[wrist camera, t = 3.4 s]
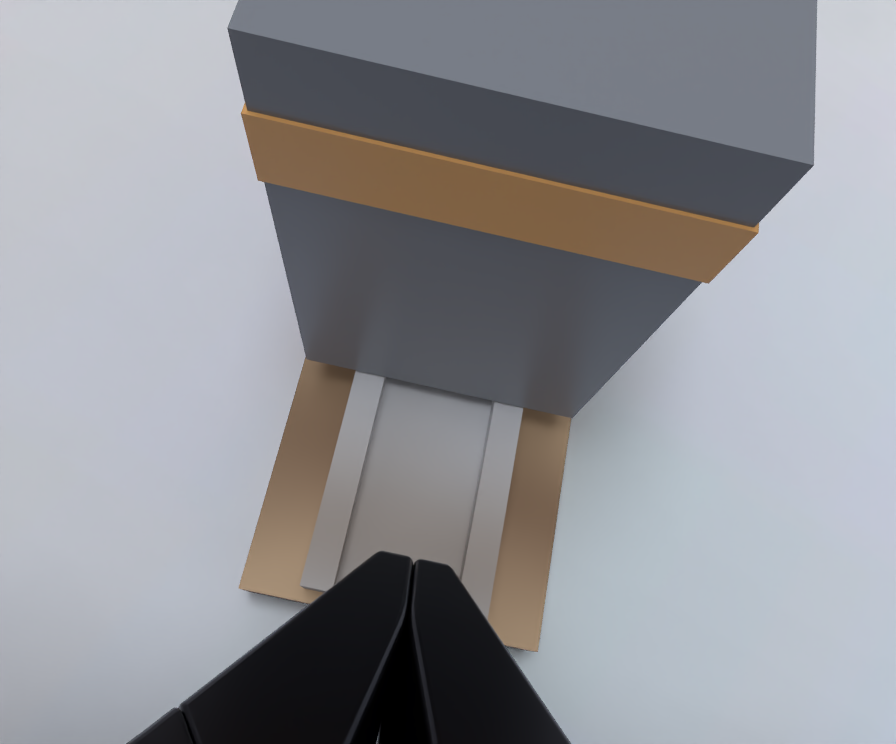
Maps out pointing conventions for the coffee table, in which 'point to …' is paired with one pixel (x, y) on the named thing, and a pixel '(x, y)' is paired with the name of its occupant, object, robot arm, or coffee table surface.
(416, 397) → the rail mount
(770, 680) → the coffee table surface
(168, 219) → the coffee table surface
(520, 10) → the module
